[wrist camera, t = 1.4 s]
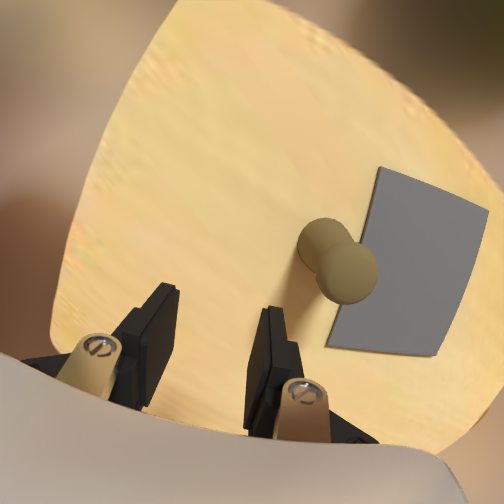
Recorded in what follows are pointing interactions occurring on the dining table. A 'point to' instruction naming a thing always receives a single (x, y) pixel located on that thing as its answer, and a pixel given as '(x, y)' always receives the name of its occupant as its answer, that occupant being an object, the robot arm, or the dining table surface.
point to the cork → (338, 261)
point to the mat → (412, 267)
